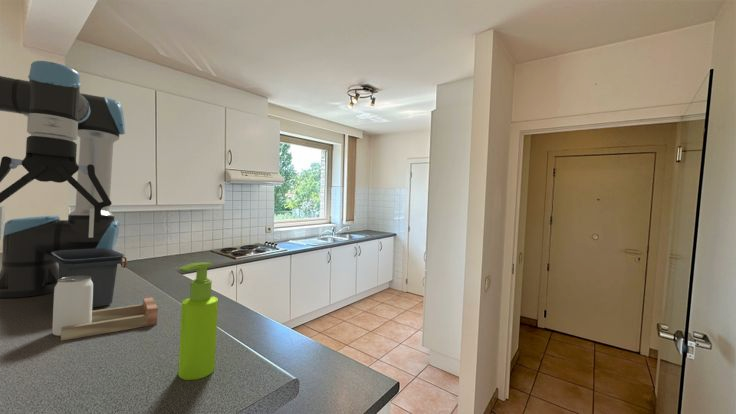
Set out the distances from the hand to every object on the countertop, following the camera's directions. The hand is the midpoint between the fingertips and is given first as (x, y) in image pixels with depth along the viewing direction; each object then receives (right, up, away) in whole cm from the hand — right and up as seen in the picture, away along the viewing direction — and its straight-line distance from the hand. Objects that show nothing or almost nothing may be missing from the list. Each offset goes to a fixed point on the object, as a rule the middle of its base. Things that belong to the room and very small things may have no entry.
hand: (48, 238), depth 66 cm
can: (+1, -22, +5) cm, 22 cm away
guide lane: (+6, -22, +9) cm, 24 cm away
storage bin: (-13, -21, +24) cm, 35 cm away
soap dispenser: (+37, -24, -10) cm, 45 cm away
